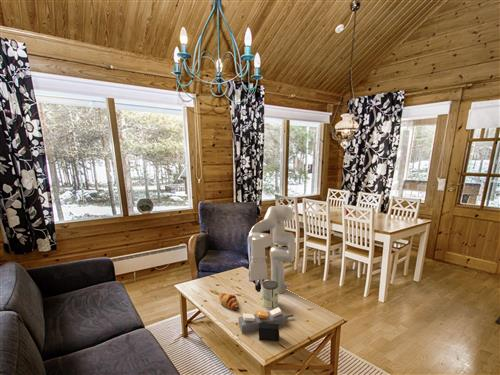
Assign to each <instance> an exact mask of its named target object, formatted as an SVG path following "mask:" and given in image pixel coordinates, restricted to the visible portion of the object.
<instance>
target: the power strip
mask: <svg viewBox="0 0 500 375" xmlns="http://www.w3.org/2000/svg"><path fill="white" fill-rule="evenodd" d="M266 312H267V314H268V315H269V317H268V319H267V318H258V316H257V314H256V313H255V314H253V315H254V317H255V321H246V320H244V318H243V316H238V326H239V329H240V332H241V333H242V334H245V333H250V332H255V331H259V323H262V322H267V323H272V324H279V327H280V326H285V325H286V326H287V319H288V318H293V317H294V314H293V313H291V314H288V315H287V314H286V315H285V314H284V312H283V311H282V310H281V312H282V314H280V315H277V316H275V317H273V318H272V316H271V315H270V312H269V311H266Z"/></svg>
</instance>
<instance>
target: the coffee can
mask: <svg viewBox="0 0 500 375" xmlns="http://www.w3.org/2000/svg"><path fill="white" fill-rule="evenodd" d="M261 290H262V294H261V295H262V297H261V298H262V306H263V308H265V309H267V310H273V309H276V308H278V307H279V293H278V283H277V282H275V281H272V280H271V279H269V280H268V279H267V280H265V281H264V282H263V283H262V285H261Z"/></svg>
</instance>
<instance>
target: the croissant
mask: <svg viewBox="0 0 500 375" xmlns="http://www.w3.org/2000/svg"><path fill="white" fill-rule="evenodd" d="M219 302H220V304H221V305H223V306H224V307H225V308H228V309H231V310H237V309H239V303H238V299H237V297H236V295H235V294H233V293H226V292H221V293H220V294H219Z"/></svg>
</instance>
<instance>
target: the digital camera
mask: <svg viewBox="0 0 500 375" xmlns="http://www.w3.org/2000/svg"><path fill="white" fill-rule="evenodd" d="M258 341H263V342H278V343H279V342H280V326H279V324H272V323H267V322H262V323H259V330H258Z"/></svg>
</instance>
